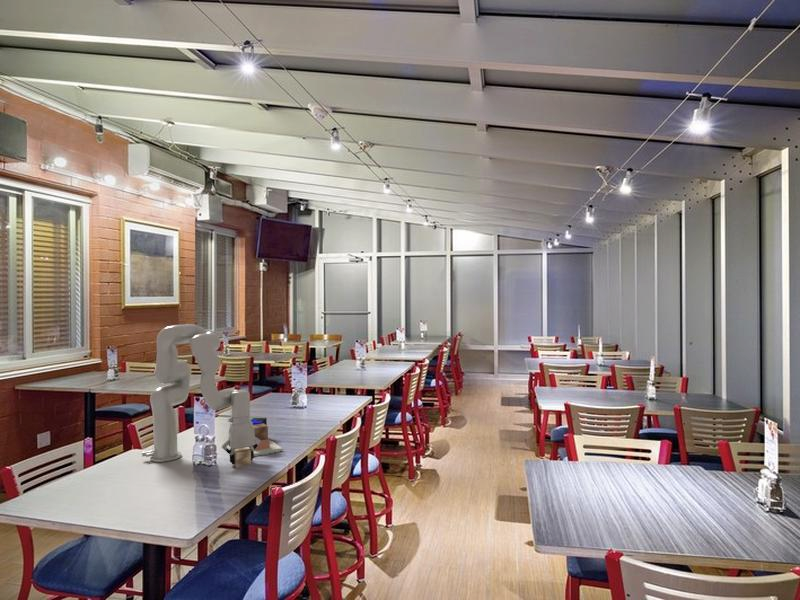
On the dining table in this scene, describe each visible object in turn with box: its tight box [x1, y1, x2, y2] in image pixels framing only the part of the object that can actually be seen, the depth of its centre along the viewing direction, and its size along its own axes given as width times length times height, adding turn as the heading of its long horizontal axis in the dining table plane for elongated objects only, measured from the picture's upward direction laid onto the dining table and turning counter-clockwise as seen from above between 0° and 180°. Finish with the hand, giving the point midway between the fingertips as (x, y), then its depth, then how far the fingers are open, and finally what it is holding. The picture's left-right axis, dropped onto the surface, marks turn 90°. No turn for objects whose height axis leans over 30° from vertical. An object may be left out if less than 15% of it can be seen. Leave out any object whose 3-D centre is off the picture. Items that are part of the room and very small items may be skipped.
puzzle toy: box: [250, 417, 268, 426], centre depth 249 cm, size 10×10×10 cm
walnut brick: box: [253, 424, 269, 441], centre depth 234 cm, size 6×6×6 cm
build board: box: [247, 437, 283, 457], centre depth 234 cm, size 16×16×5 cm
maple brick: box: [233, 447, 252, 468], centre depth 215 cm, size 6×6×6 cm
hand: (241, 461), depth 215 cm, fingers open, 6 cm apart
